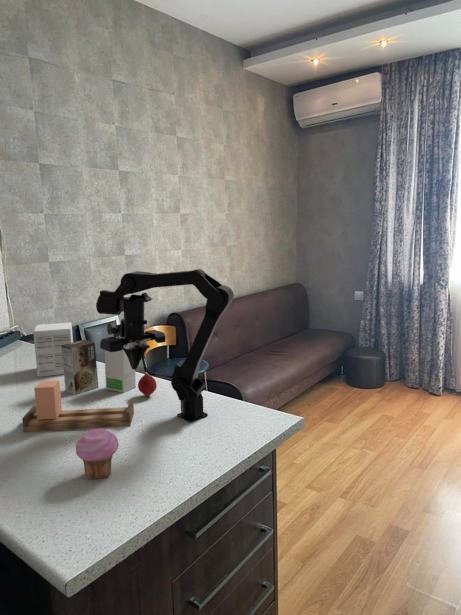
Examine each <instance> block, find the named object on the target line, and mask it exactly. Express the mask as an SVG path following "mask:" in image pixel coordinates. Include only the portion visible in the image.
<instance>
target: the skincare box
mask: <svg viewBox="0 0 461 615" xmlns="http://www.w3.org/2000/svg"><path fill="white" fill-rule="evenodd" d="M104 369H105V372H104V373H105V389H106V390H110V391H114V392H118V393H119V392H120V393H125V394H126V393H127V392H128V391H131V390H133V389H134V388H135V389H136V384H137V381H136V369H135V370H133V369H132V367H131V365H130V362H129V360H128V357H127V355H126V353H125V351H124V350H123V349H122V350H121V351H117V352H109V351H106V350H104Z"/></svg>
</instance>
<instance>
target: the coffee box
mask: <svg viewBox="0 0 461 615" xmlns="http://www.w3.org/2000/svg"><path fill="white" fill-rule="evenodd" d="M61 346H62V357H63V368H64V374H63V375H64V376H63V378H64V388H65V392H66V393H69V394H73V395H75V396H76V395H79V394H82V393H85V392H88V391H90V390H94V389H97V388H99V378H98V377H99V376H98V366H97V365H98V364H97V355H96V344H95V341H91V340H88V339H82V340H77V341H73V343H68V344H64V345H61Z"/></svg>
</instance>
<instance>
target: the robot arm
mask: <svg viewBox="0 0 461 615" xmlns="http://www.w3.org/2000/svg"><path fill="white" fill-rule="evenodd" d="M188 285H193V286H194V287H195V288H196V289H197V291H198V292H199V293H200V294H201V295H202V296H203V297H204V298H205V299H206V302H205V303H206V304H205V311H204V317H203V319H202V321H201V324H200V326H199V329H198V330H197V333H196V336H195V338H194V340H193V341H192V344H191V347H190V348H189V352H187V353H188V354H187V356H186V358H185V359H182V358H181V360H180V361H178V363H177V364H175V366H174V368H173V373H172V374H171V376H170V379H171V380H170V385H171V388H172V389H173V390H174V391H175V392H176V395H177V398H178V400H179V401H180V412H179V413H177V414H176V416H177V417H178V418H181V419H183V420H186V421H188V422H190V423H192V422H195V421H197V420H200V419H202V418H205V417H207V416H208V415H209V414H208V412H205V411H204V397H203V395H202V392H204V390H205V387H206V384H205V382H204V381H203V380H202V379H201V378H200V377H199V373H200V370H201V369H200V366H201V361H202V359H203V357H204V355H205V352H206V350H207V348H208V345H209V343H210V341H211V339H212V338H213V334H214V333H215V330H216V327H217V325H218V323H219V322H220V319H221V318H222V317H223V315H224V314H225V312H227V310H228V309H229V307H230V305H231V304H232V302H234V298H235V294H234V292H233V290H232V288H231V287H229V286H227V285H225V284H224V285H223V284H222V283H221V282H220V281H218V280H216V279H215V278H213V277H212V276H210V275H209V274H208V273H206V272H205V270H204V269H201V268H196V269H194V270H193V269H192V270H184V271H183V270H181V271H170V272H163V273H162V272H160V273H159V272H158V273H152V272H147V271H139V270H138V271H133V272H128V273H125V274H123V275H122V277H121V279H120V284H119V285H118V286H117V288H116V289H115V291H112V290H107V289H102V290H100V291H99V296H98V298H97V300H96V303H95V309H96V311H97V313H98V314H101V315H110V316H111V315H114V316H120V315H121V313H123V318H121V319H120V324H116V322H110V323H107V324H106V325H107V326H106V331H107V334H108V335H111V336H110V337H104V338H103V337H102V339H101V340H100V342H99V345H100V346H99V347H100V348H99V349H101V350H103V351H105V350H106V351H109V352H117V351H121V350H122V349H123V350H124V351H125V353H126V355H127V357H128V360H129V362H130V365H131V367H132V369H133V370H135V371H136V370H137V369H138V368H139V365H140V362H142V361H141V360H142V359H143V357H144V355H145V353H146V352H147V350H148V349H150V347H151V345H149V344H148V342H149V341H150V342H151V341H155V343H156V344H162V343H166V339H167V338H166V334H165V332H163V331H160V330H158V329H151V330H145V325H147V324H148V320H147V319H145V303H149V302H150V301H152V300H153V299H152V297H151V296H149V294H148V293H147V292H143V291H147V290H151V289H154V288H164V287H165V288H166V287H178V286H188ZM140 292H142V293H141V294H135V293H140ZM127 295H130V296H129V297H128V296H127ZM118 337H120V338H118Z"/></svg>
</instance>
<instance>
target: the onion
mask: <svg viewBox="0 0 461 615" xmlns="http://www.w3.org/2000/svg"><path fill="white" fill-rule="evenodd" d="M137 383H138V384H137V388H138V391H139V392H140V393H142V394H143V395H144V396H145V397H149V396H151V395H152V394H153V393H155V391H156V390H157V386H158V385H157V381H156V380H155V378H154V377H153V376H152V375H150V374H149V373H148V372H144V375H142V377H141V378H139V381H138V382H137Z"/></svg>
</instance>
